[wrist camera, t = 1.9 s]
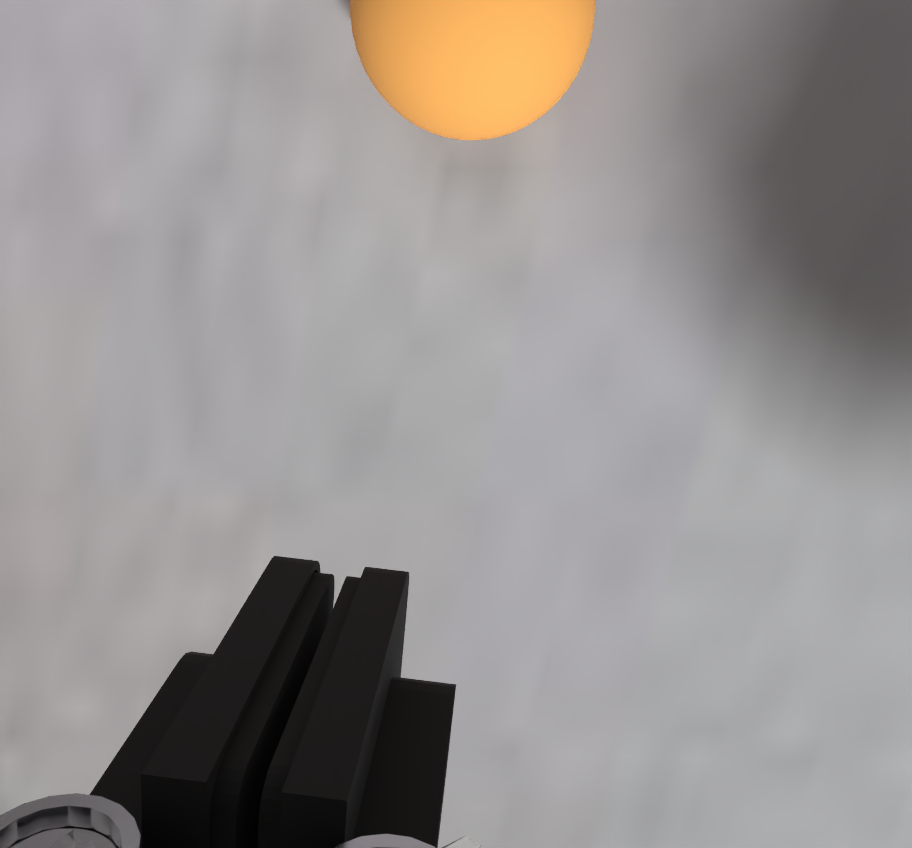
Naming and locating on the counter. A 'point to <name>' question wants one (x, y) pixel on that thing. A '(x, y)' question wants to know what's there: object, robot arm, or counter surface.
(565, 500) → the counter surface
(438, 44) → the ball
